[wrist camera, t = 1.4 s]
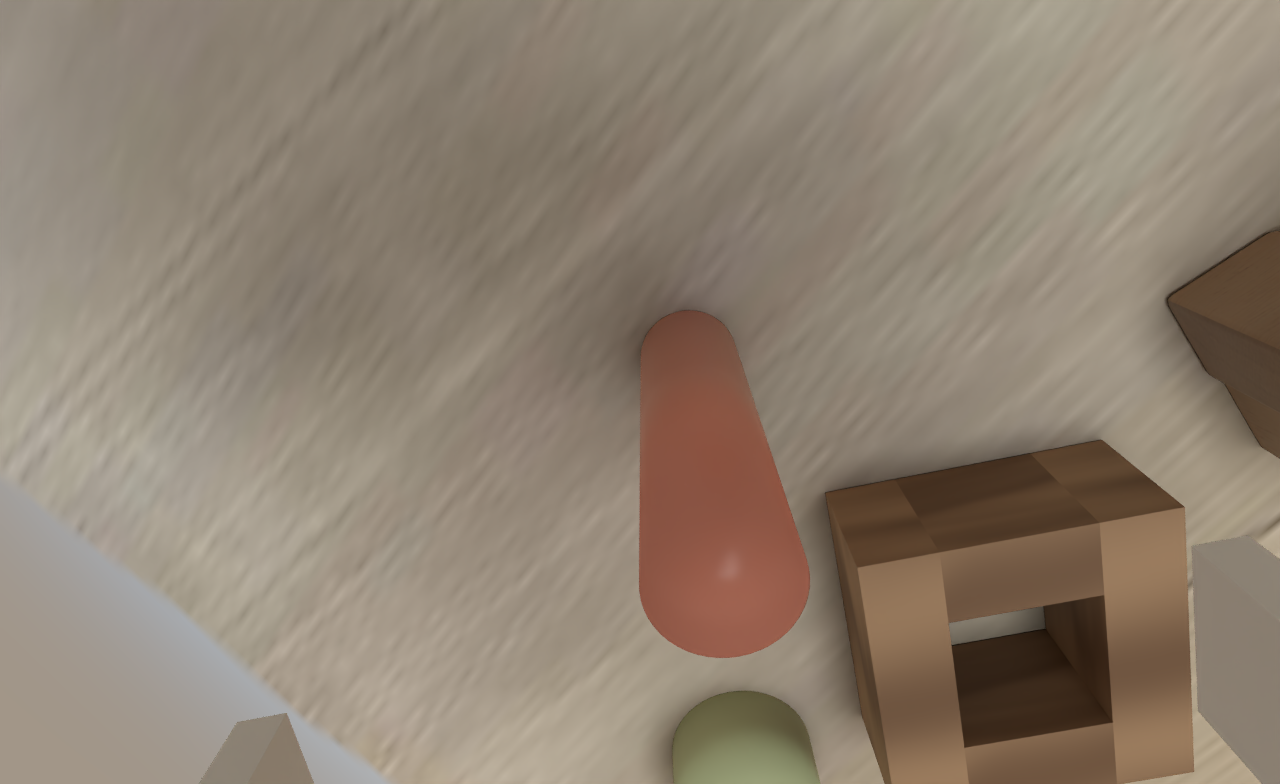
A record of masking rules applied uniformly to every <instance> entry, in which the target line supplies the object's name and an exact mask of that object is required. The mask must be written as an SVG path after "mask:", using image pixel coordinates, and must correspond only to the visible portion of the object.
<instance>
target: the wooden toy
mask: <svg viewBox="0 0 1280 784" xmlns="http://www.w3.org/2000/svg"><path fill="white" fill-rule="evenodd" d="M1168 304H1169V307H1170V309H1171V310H1172V312H1173V314H1174V315H1175V317H1176V319H1177V321H1178V322H1179V324H1180V326H1181V327H1182V329H1183V331H1184V333H1185V334H1186V336H1187V338H1188V339H1189V341H1190V343H1191V345H1192V346H1193V348H1194V350H1195V351H1196V353H1197V355H1198V356H1199V358H1200V360H1201V362H1202V363H1203V365H1204V367H1205V368H1206V370H1207V372H1208V374H1209V375H1211V376H1212V377H1214V378H1216V379H1218V380H1220V381H1221V382H1223V383H1225V385H1226V387H1227V388H1228V390H1229V392H1230V394H1231V395H1232V397H1233V399H1234V401H1235V402H1236V404H1237V406H1238V408H1239V409H1240V411H1241V413H1242V415H1243V416H1244V418H1245V420H1246V421H1247V423H1248V425H1249V426H1250V428H1251V430H1252V431H1253V433H1254V435H1255V437H1256V438H1257V440H1258V442H1259V443H1260V445H1261V447H1262V448H1264V449H1265V450H1267V451H1269V452H1270V453H1272V454H1273V455H1275V456H1276V457H1278V458H1280V231H1275V232H1271V233H1268V234H1266V235H1264V236H1263V237H1261V238H1260V239H1258V240H1257V241H1255V242H1254V243H1252V244H1250V245H1249V246H1247V247H1246V248H1244V249H1243V250H1241V251H1240V252H1238V253H1237V254H1235V255H1233V256H1232V257H1230V258H1229V259H1227V260H1226V261H1224V262H1223V263H1221V264H1219V265H1218V266H1216V267H1215V268H1213V269H1212V270H1210V271H1209V272H1207V273H1206V274H1204V275H1202V276H1201V277H1199V278H1198V279H1196V280H1195V281H1193V282H1192V283H1190V284H1188V285H1187V286H1185V287H1184V288H1182V289H1181V290H1179V291H1178V292H1176V293H1175V294H1173V295H1171V296H1170V298H1169V299H1168Z"/></svg>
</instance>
